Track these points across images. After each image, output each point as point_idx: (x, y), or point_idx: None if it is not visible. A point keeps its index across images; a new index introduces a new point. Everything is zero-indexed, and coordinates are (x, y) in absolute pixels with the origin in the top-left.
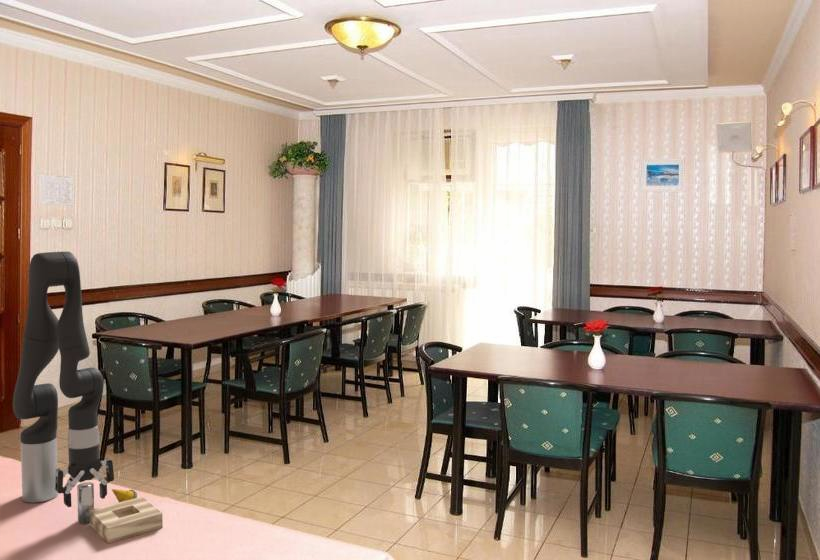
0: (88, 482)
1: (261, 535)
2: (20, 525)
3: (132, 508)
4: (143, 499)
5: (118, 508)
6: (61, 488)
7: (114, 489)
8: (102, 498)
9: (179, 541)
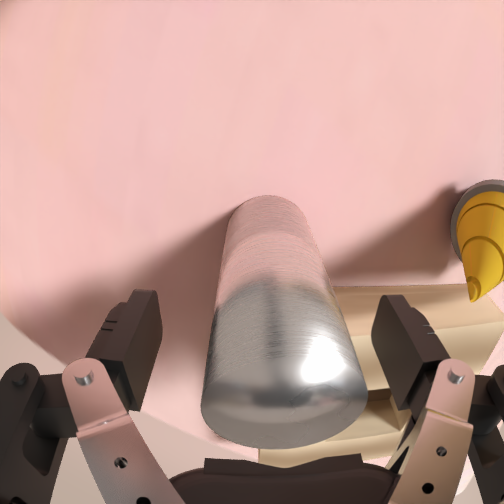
0: (348, 371)
1: None
2: (7, 96)
3: None
4: (489, 349)
5: (379, 385)
6: (55, 449)
7: (481, 296)
8: (371, 338)
9: (379, 461)
